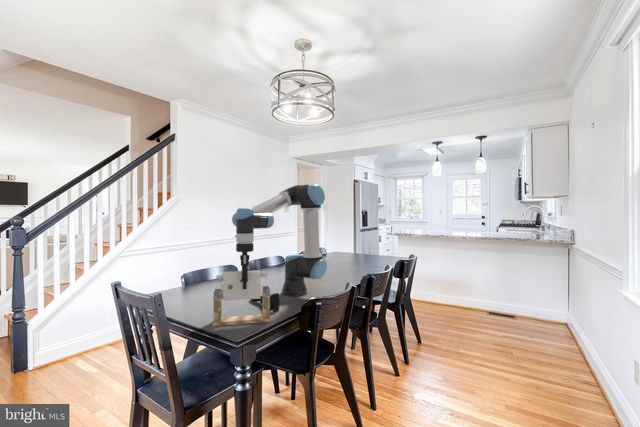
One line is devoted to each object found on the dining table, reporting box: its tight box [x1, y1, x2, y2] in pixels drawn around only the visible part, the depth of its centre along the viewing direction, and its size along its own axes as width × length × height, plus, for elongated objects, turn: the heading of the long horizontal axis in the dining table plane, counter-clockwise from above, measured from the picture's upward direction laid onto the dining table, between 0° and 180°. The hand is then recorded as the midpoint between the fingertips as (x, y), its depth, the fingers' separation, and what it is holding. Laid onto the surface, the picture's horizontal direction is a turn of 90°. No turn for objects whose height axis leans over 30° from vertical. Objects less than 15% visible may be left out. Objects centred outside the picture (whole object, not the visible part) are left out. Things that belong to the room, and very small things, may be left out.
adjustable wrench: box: [249, 292, 281, 312], centre depth 161 cm, size 8×3×25 cm
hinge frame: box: [211, 285, 272, 327], centre depth 138 cm, size 25×6×15 cm, turn 103°
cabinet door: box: [215, 269, 268, 302], centre depth 137 cm, size 22×5×12 cm, turn 103°
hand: (244, 294), depth 138 cm, fingers closed on cabinet door, 3 cm apart
